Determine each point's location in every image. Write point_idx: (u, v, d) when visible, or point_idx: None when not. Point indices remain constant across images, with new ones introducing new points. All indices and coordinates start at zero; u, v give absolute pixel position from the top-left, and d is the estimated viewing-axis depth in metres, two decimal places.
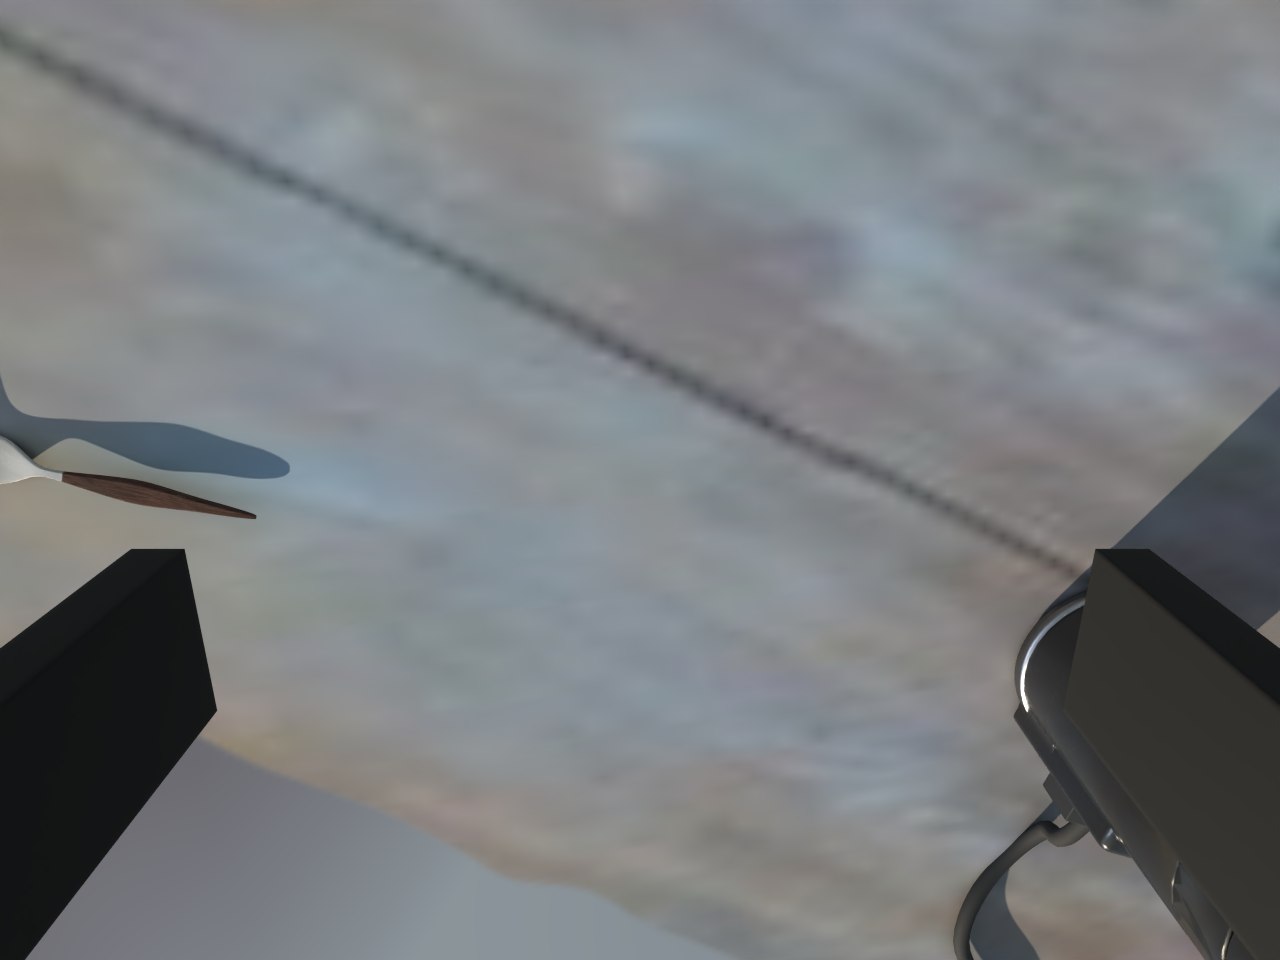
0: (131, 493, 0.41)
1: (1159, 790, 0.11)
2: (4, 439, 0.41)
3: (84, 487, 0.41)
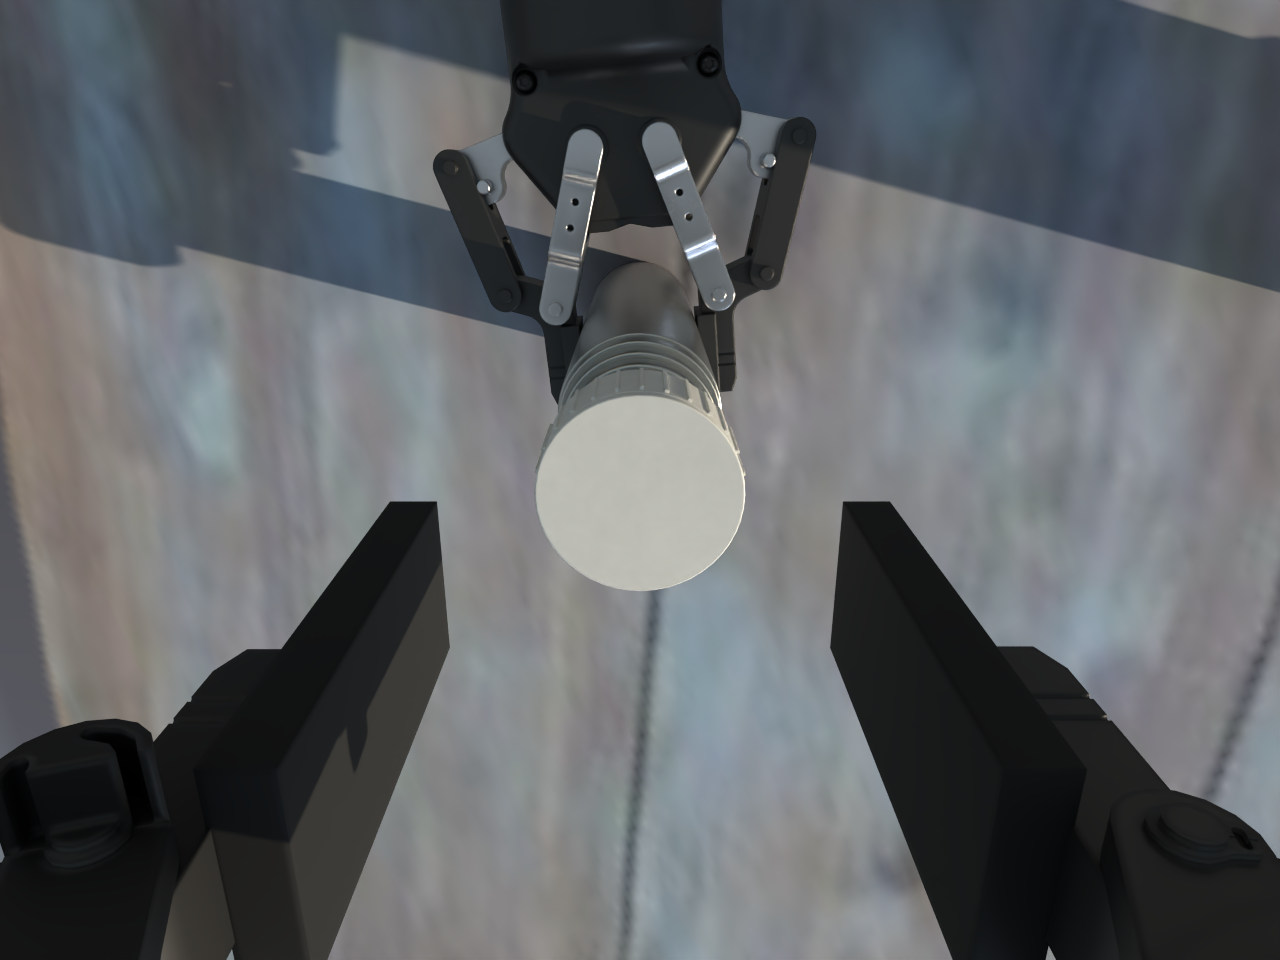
0: None
1: (867, 703, 0.12)
2: None
3: None
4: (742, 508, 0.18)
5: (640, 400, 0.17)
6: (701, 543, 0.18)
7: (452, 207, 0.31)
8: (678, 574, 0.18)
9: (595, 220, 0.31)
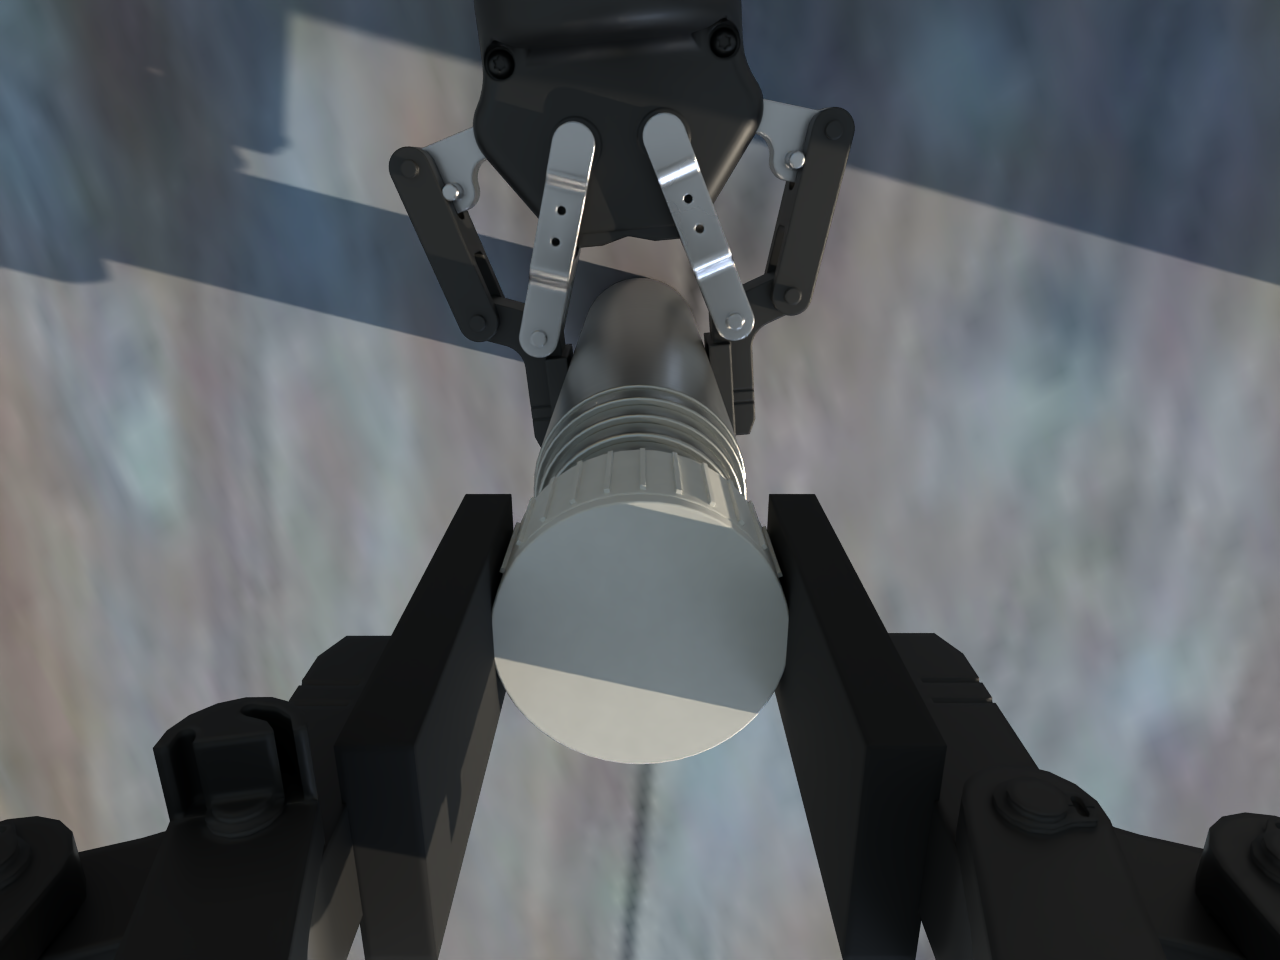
0: None
1: (784, 690, 0.13)
2: None
3: None
4: None
5: (641, 508, 0.12)
6: (727, 702, 0.13)
7: (413, 216, 0.25)
8: (694, 743, 0.13)
9: (586, 232, 0.26)
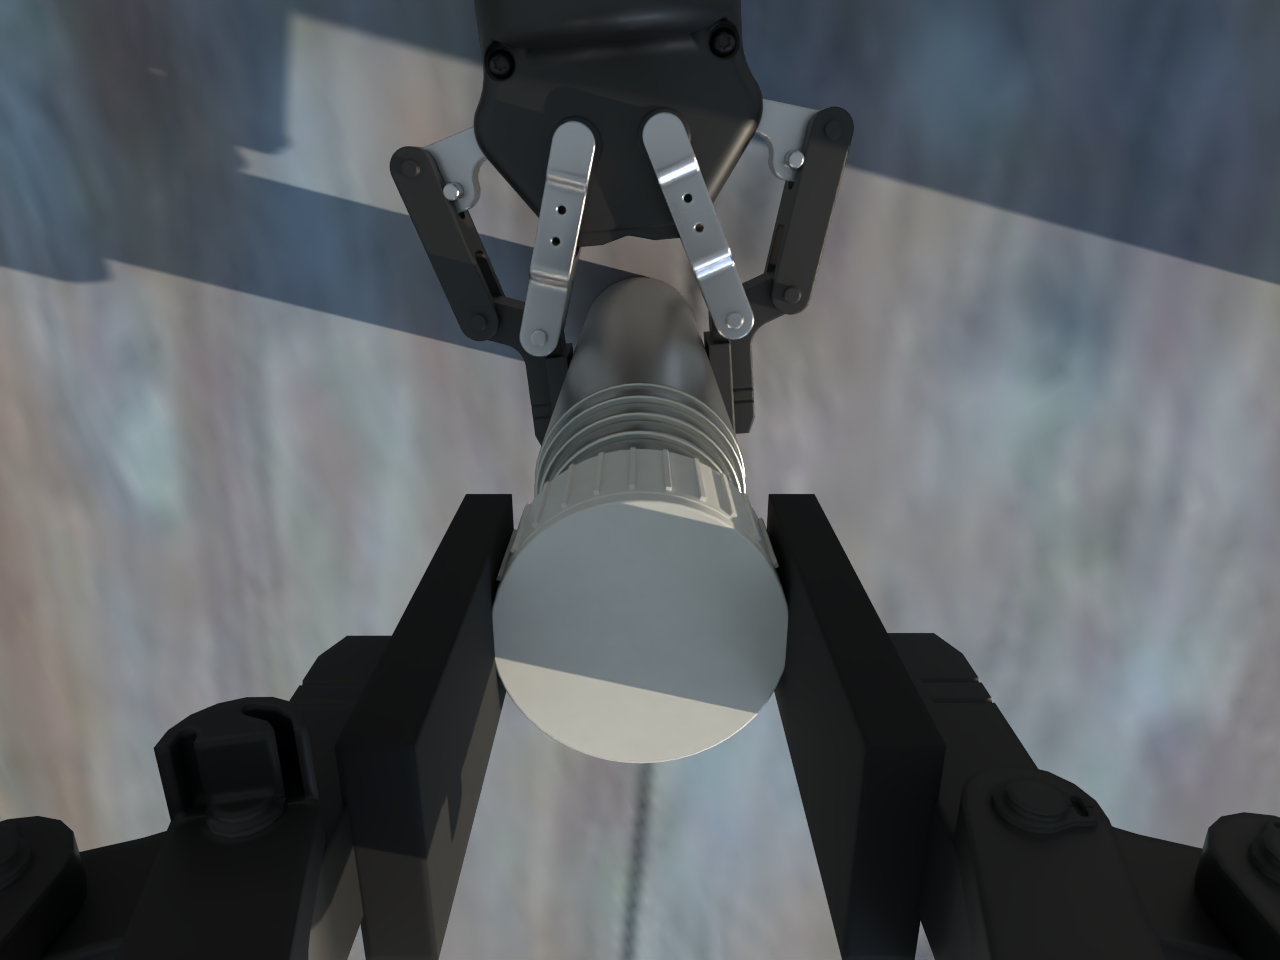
0: None
1: (784, 690, 0.13)
2: None
3: None
4: (638, 502, 0.12)
5: (499, 654, 0.12)
6: (703, 550, 0.12)
7: (414, 216, 0.25)
8: (757, 575, 0.12)
9: (586, 231, 0.26)
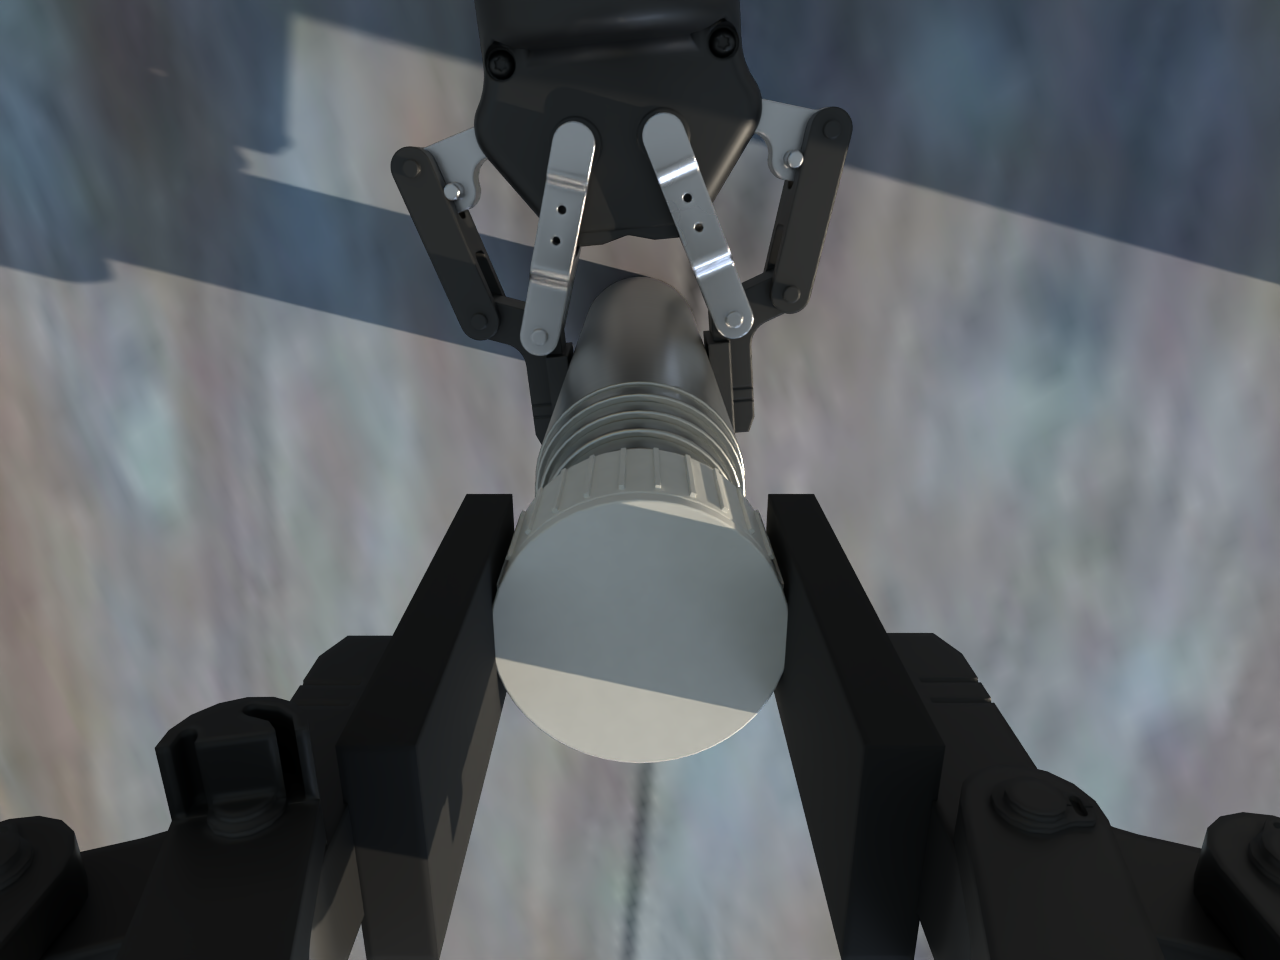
0: None
1: (783, 690, 0.13)
2: None
3: None
4: None
5: (672, 754, 0.13)
6: (533, 597, 0.12)
7: (414, 216, 0.25)
8: (550, 545, 0.12)
9: (586, 231, 0.26)
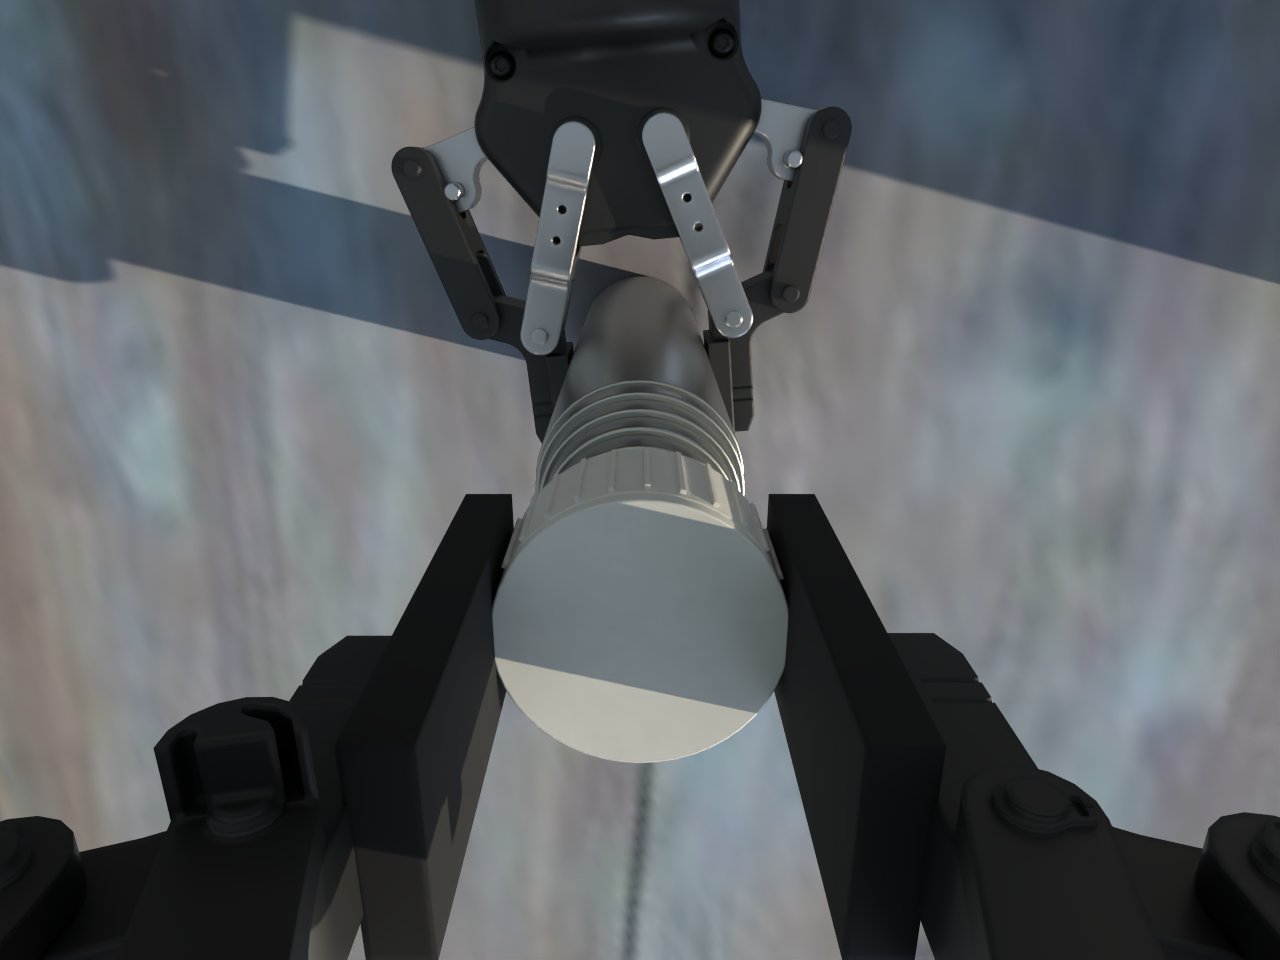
0: None
1: (784, 690, 0.13)
2: None
3: None
4: (676, 757, 0.13)
5: (776, 593, 0.12)
6: (608, 732, 0.13)
7: (415, 216, 0.26)
8: (551, 723, 0.13)
9: (586, 231, 0.26)
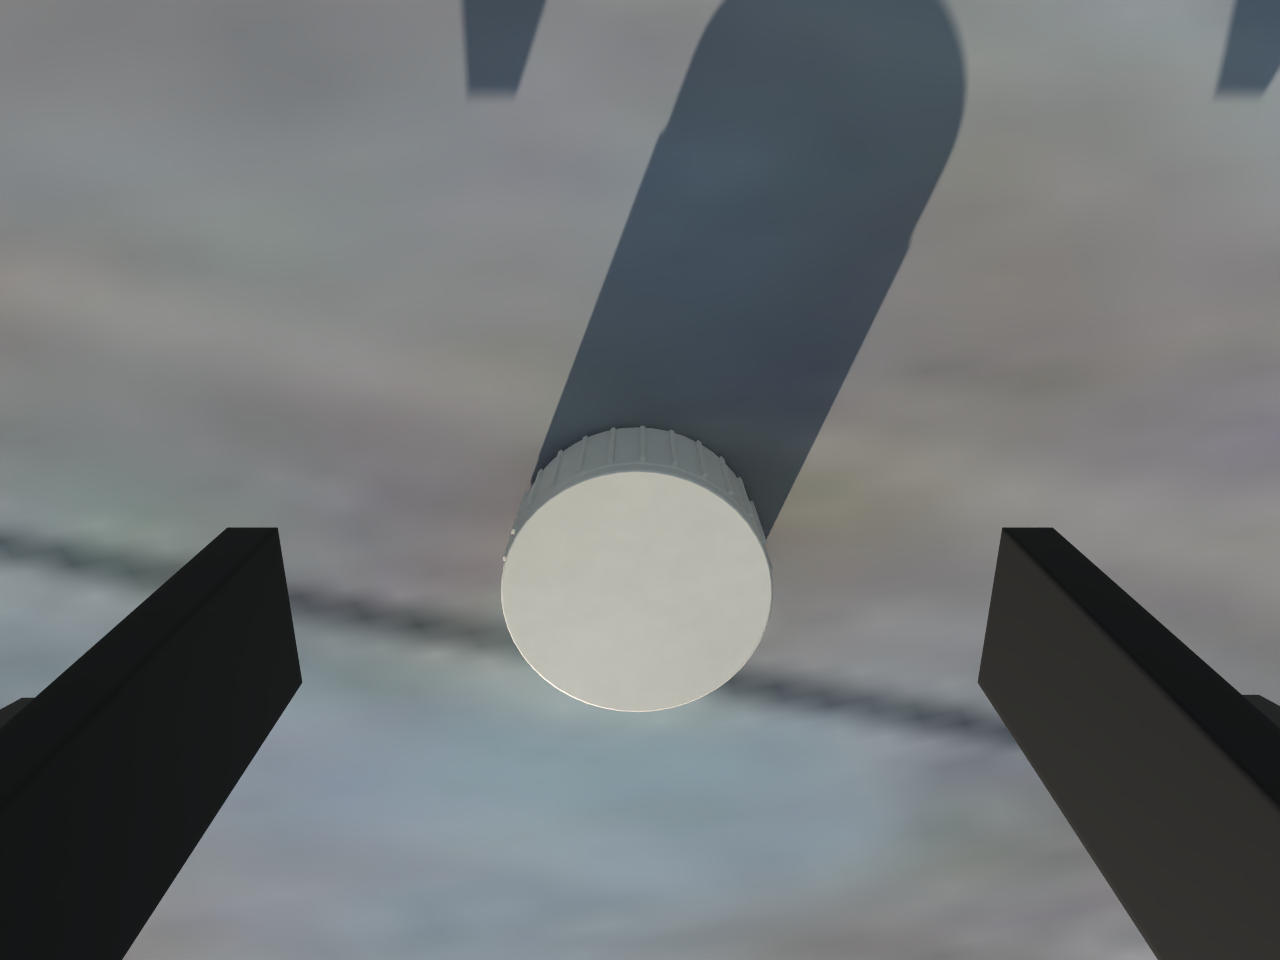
0: None
1: (1049, 750, 0.11)
2: None
3: None
4: (670, 707, 0.14)
5: (759, 555, 0.13)
6: (607, 683, 0.14)
7: None
8: (556, 674, 0.14)
9: None
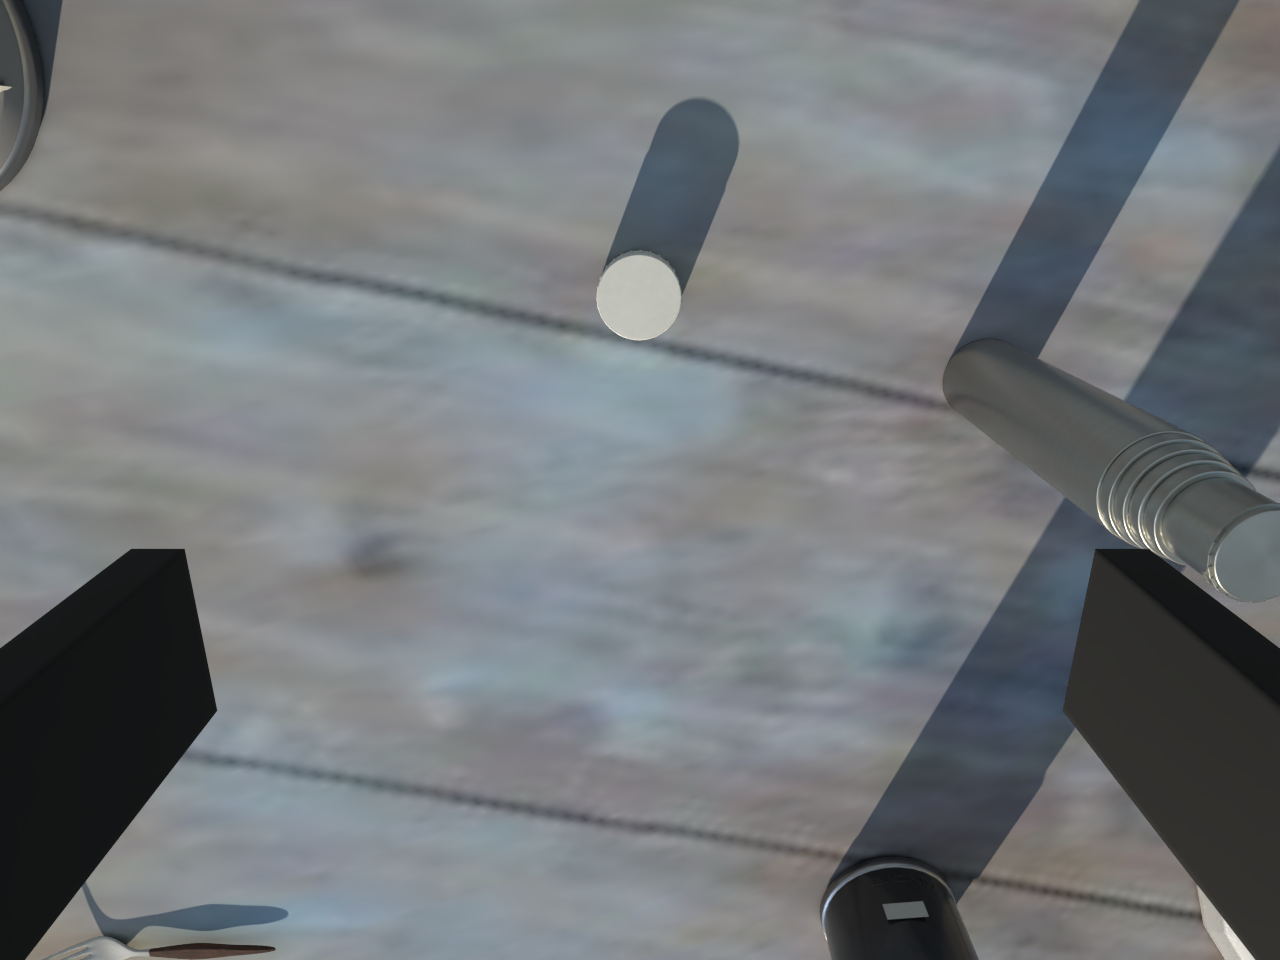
0: (194, 954, 0.62)
1: (1159, 789, 0.11)
2: (108, 938, 0.62)
3: (164, 956, 0.62)
4: (649, 338, 0.45)
5: (676, 283, 0.44)
6: (629, 329, 0.45)
7: None
8: (613, 325, 0.45)
9: None
